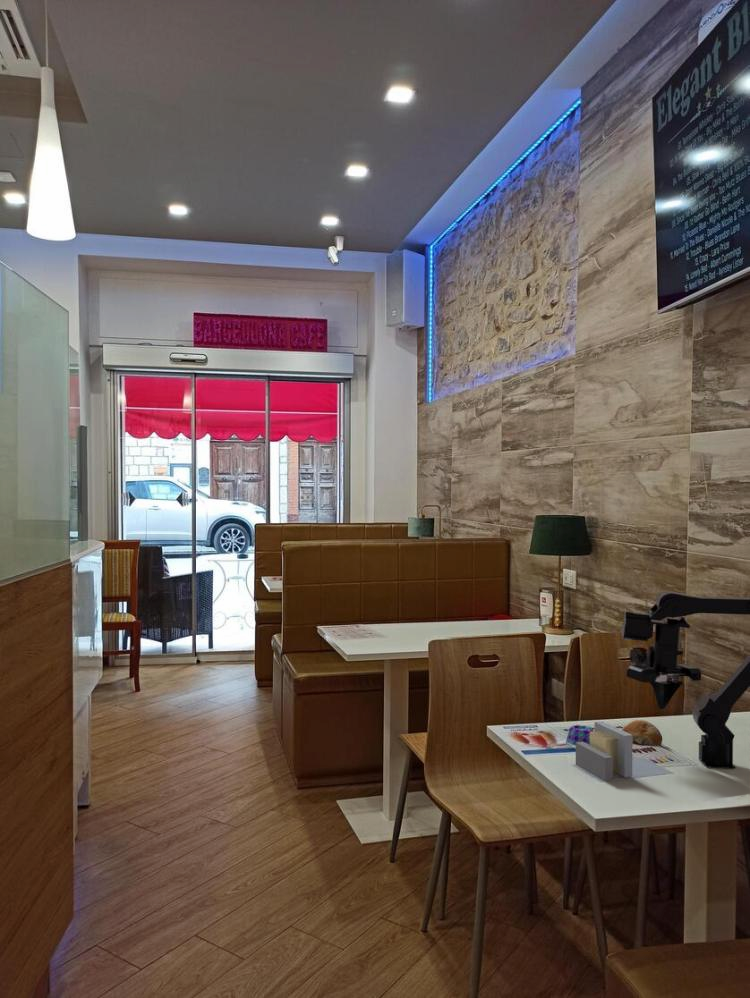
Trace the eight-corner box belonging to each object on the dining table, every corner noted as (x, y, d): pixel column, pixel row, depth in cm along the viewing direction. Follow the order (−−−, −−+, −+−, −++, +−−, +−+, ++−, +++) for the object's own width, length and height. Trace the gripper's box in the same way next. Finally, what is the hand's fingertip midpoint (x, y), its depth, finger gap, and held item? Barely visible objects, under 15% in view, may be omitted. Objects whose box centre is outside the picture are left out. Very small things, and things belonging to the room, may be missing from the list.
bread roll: (665, 762, 187) (674, 731, 189) (643, 751, 182) (651, 719, 184) (632, 751, 195) (640, 722, 197) (609, 740, 190) (618, 710, 192)
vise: (641, 763, 175) (641, 735, 175) (673, 779, 165) (673, 750, 165) (571, 771, 169) (571, 742, 169) (600, 788, 159) (601, 758, 159)
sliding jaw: (601, 760, 172) (601, 721, 172) (632, 776, 161) (632, 735, 162) (594, 761, 171) (594, 721, 171) (624, 777, 161) (624, 735, 161)
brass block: (600, 765, 169) (601, 730, 169) (617, 775, 163) (617, 738, 163) (589, 767, 168) (589, 731, 168) (605, 776, 162) (605, 739, 162)
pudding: (613, 747, 188) (613, 727, 188) (595, 760, 178) (595, 738, 178) (568, 738, 195) (568, 718, 195) (548, 749, 186) (549, 728, 186)
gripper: (669, 637, 189) (664, 697, 190) (612, 637, 182) (607, 700, 182) (705, 646, 179) (700, 710, 179) (646, 647, 172) (641, 714, 172)
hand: (661, 708), depth 178 cm, fingers closed
